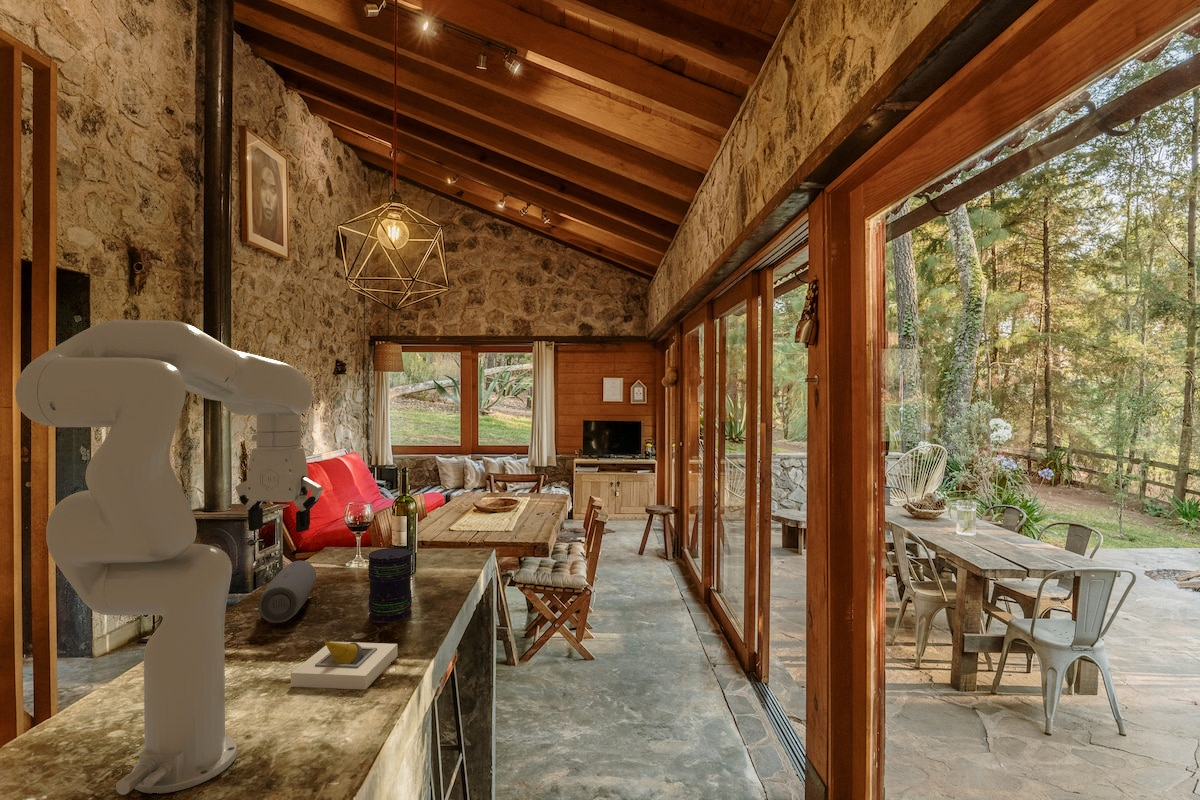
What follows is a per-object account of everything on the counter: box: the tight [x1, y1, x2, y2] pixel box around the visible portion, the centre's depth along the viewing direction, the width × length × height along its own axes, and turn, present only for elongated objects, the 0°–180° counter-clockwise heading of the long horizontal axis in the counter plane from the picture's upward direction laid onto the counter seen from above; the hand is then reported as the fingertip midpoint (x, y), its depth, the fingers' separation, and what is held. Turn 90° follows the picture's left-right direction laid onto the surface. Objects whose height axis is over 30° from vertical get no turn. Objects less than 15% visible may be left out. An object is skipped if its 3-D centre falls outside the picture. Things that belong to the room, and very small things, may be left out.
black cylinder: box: [367, 547, 413, 624], centre depth 147 cm, size 10×10×15 cm
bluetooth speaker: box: [258, 560, 317, 624], centre depth 150 cm, size 23×9×10 cm, turn 15°
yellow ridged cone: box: [324, 641, 364, 665], centre depth 118 cm, size 5×5×10 cm
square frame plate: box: [290, 641, 399, 691], centre depth 118 cm, size 14×14×3 cm
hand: (279, 530), depth 118 cm, fingers open, 9 cm apart
